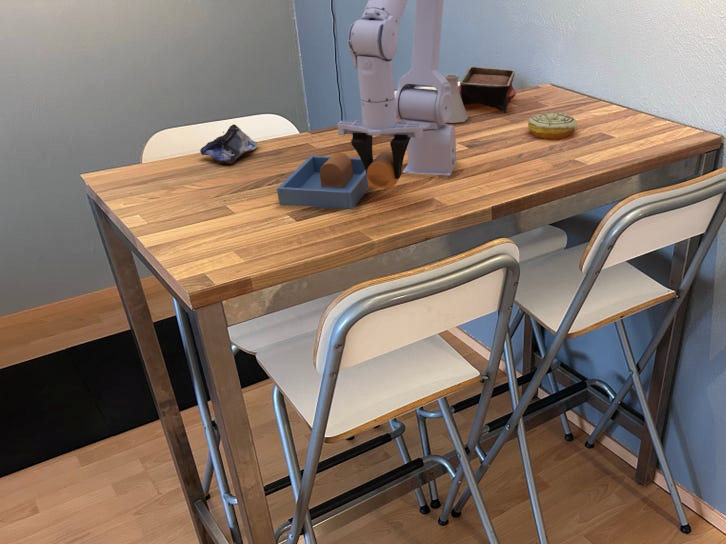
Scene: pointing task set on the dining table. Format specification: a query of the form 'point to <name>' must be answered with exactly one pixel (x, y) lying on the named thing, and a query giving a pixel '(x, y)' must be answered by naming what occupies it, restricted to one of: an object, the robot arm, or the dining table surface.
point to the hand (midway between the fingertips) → (384, 176)
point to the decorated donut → (552, 125)
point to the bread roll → (382, 171)
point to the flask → (456, 101)
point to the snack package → (229, 146)
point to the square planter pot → (487, 87)
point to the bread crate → (308, 190)
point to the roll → (336, 171)
